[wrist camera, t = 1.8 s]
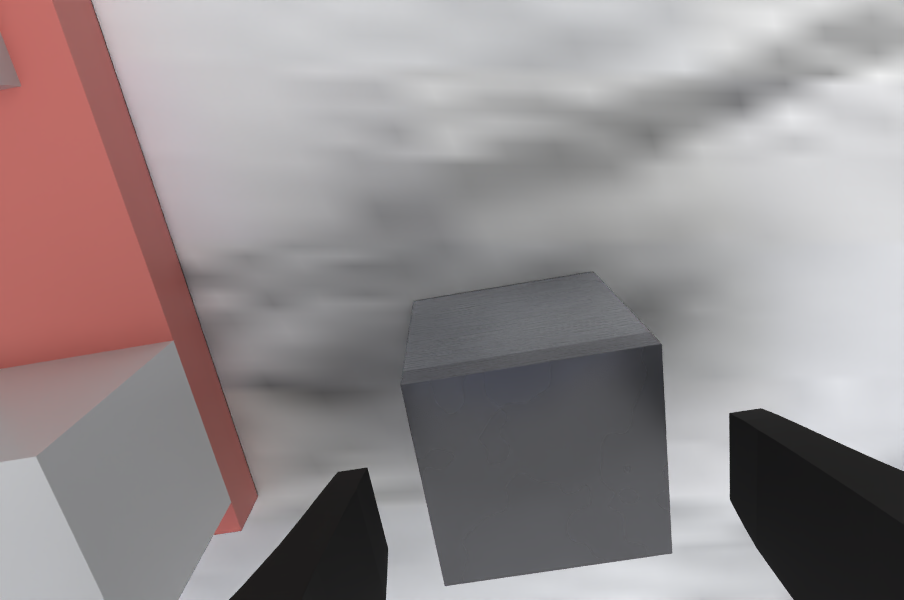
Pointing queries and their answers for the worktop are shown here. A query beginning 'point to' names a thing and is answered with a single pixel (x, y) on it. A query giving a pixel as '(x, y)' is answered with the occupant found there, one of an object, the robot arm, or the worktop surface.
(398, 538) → the worktop surface
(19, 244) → the rail
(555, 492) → the grey cube
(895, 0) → the worktop surface
